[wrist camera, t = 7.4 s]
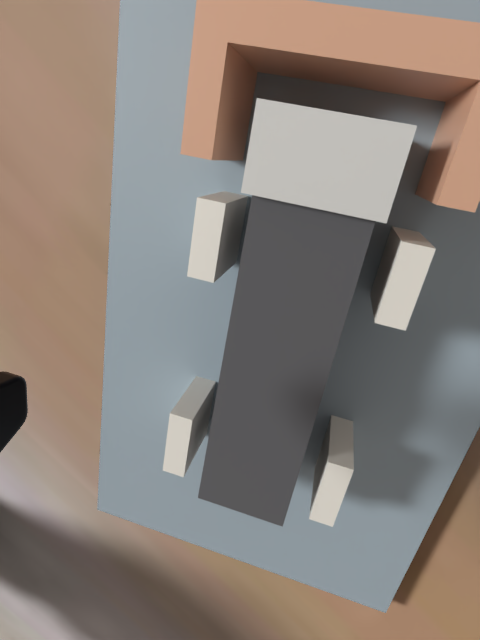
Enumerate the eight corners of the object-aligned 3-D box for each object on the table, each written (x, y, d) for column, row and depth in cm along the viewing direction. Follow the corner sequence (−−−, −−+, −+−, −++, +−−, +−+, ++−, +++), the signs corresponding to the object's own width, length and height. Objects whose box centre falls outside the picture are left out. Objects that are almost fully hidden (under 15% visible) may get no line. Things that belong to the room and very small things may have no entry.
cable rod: (298, 467, 16) (286, 538, 13) (217, 441, 17) (188, 505, 14) (398, 135, 11) (417, 125, 8) (280, 114, 12) (256, 98, 9)
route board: (384, 595, 19) (391, 681, 15) (106, 497, 21) (63, 555, 18) (667, 16, 10) (811, -50, 7) (136, -47, 12) (63, -118, 9)
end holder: (443, 200, 12) (474, 212, 9) (218, 155, 13) (180, 154, 10) (491, 67, 10) (546, 31, 7) (236, 31, 11) (197, -14, 9)
